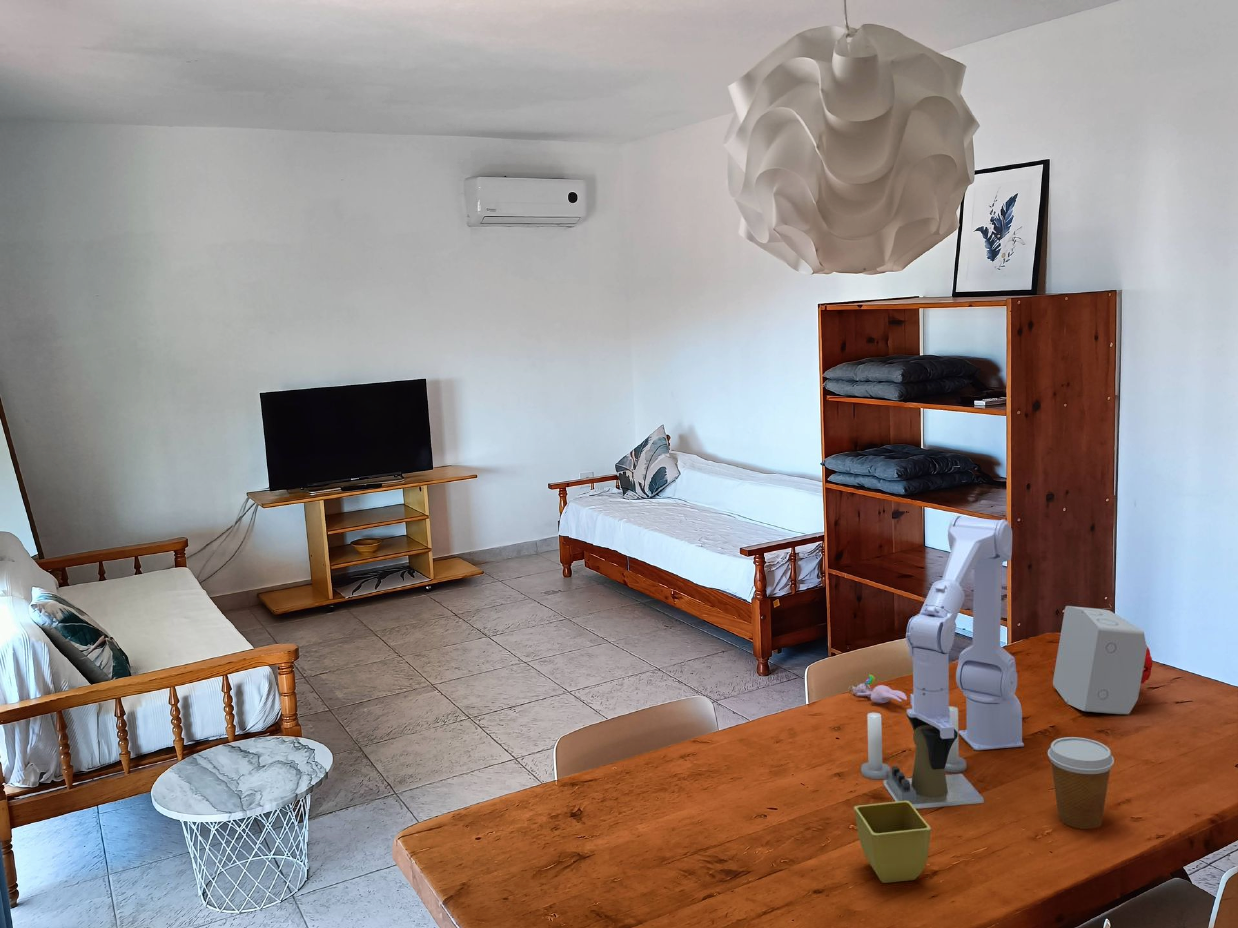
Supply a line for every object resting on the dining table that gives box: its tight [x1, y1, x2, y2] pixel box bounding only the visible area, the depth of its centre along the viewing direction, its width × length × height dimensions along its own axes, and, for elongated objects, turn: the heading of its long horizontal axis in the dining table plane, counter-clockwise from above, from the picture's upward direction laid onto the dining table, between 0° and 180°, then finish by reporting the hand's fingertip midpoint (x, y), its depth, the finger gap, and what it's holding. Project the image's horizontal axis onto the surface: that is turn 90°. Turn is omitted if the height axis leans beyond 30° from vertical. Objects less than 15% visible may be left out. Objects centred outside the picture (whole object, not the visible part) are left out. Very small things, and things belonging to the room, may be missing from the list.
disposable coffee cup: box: [1047, 736, 1115, 830], centre depth 155 cm, size 10×10×12 cm
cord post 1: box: [860, 712, 891, 781], centre depth 174 cm, size 5×5×11 cm
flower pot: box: [853, 801, 932, 884], centre depth 144 cm, size 9×9×9 cm
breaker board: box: [883, 765, 984, 810], centre depth 166 cm, size 14×9×4 cm, turn 93°
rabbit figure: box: [848, 674, 908, 705], centre depth 206 cm, size 6×6×15 cm
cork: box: [911, 725, 948, 797], centre depth 166 cm, size 6×6×11 cm
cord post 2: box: [945, 705, 967, 774], centre depth 175 cm, size 5×5×11 cm
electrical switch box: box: [1052, 605, 1153, 715], centre depth 198 cm, size 15×15×20 cm
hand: (931, 760), depth 166 cm, fingers closed on cork, 5 cm apart
